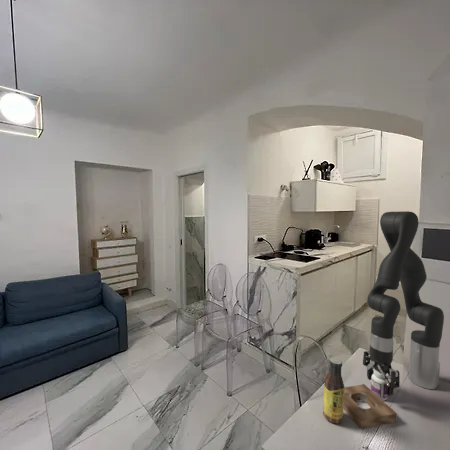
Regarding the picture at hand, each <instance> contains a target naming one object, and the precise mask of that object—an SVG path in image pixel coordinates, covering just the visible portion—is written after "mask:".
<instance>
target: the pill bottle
mask: <svg viewBox="0 0 450 450" xmlns="http://www.w3.org/2000/svg"><path fill="white" fill-rule="evenodd" d="M373 370H374V374H372V377H371V380H370V381H371V383H370V390H371V391H373V392H374V393H375V394H376V395H377V396H378V397H379V398H380V399H381V400H383V401H384V402H385V401H387V399H388V395H387V394H386V385H387V384H386V381H385V379H383V377H382V375H381V374H380V373H379V372H378V371H377V370H375V368H374V369H373ZM385 375H386V376H387V374H385Z"/></svg>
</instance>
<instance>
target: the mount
mask: <svg viewBox="0 0 450 450" xmlns="http://www.w3.org/2000/svg"><path fill="white" fill-rule="evenodd" d="M359 401H360V402H363V403H366V404H367V405H368V406H369V407H370V408H364V407H362V406H360V405H358V403H357V402H359ZM343 411H345V413H346V414H347V415H348V416H349V417H350V418H351V419H352V421H353V422H354V423H355V424H356V425H357V426H358V427H359V428H360V430H365V429H369V428H373V427H378V426H382V425H388V424H392V423H397V419H398V418H397V416H398V415H397V414H398V413H397V411H395V410H394V409H393V408H392V407H391V406H389V404H387V403H386V401H385V400H384V401H383V400H381V399H380V398H379V397H378V396H377V395H376V394H375V393H374V392H373V391H371V388H369V387H368V386H367V385H366V384H365V383H362V384H356V385H350V386H344V403H343Z"/></svg>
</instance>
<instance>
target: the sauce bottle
mask: <svg viewBox="0 0 450 450" xmlns="http://www.w3.org/2000/svg"><path fill="white" fill-rule="evenodd" d="M328 360H329V361H328V363H329V370H328V372H327V373H326V375H325V376H324V385H323V401H322V402H323V404H322V414H323V416H324V418H325V419H326V420H327V421H328V422H330V423H333V424H340V423H341V422H342V419H343V417H344V409H343V403H344V387H345V384H344V381H343V377H342V367H343V361H342V360H341V359H340V358H338V357H333V356H331V357H330V358H329V359H328Z"/></svg>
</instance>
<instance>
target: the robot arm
mask: <svg viewBox="0 0 450 450" xmlns="http://www.w3.org/2000/svg"><path fill="white" fill-rule="evenodd" d="M379 220H380V221H379V224H380V225H379V226H380V228H381V232H382V234H383V237H384V239H385V241H386V244H387V245H388V248H389V251H390V252H389V253H388V254H387V255H386V256H385V257H384V258H383V259H382V261H381V263H380V265H379V269H378V274H377V277H376V281H375V283H374V284H373V286H372V288H371V289H370V291H369V294H368V295H367V299H366V301H367V305H368V307H369V308H370V309H371V310H373V311H376V312H379V313H381V314H383V316H373V317H372V319H371V326H370V337H369V350H365V351H363V358H362V365H363V367H364V366H365V368H366V370H367V371H366V378H367V379H368V380H369V381H371V377H372V374H374V369H375V370H377V371H378V372H379V373H380V374H381V375H382V377H383V379H385V381H386V384H387V385H386V394H387V397H389V396H393V395H394V392H395V391H394V389H399V388H400V384H401V381H400V377H401V375H400V371H399V370H397V369H396V370H395V369H394V368H393V367H392V362H393V359H394V327H395V323H396V320H397V318H398V315H399V314H400V312H401V303H400V302H399V300H398V298H396V297H394V296H391V295H388V294H385V292H387V290H393V291H396V290H398V288H399V286H401V289H402V293H403V299H404V304H405V310H406V313H407V317H408V319H410V321H412V322H414V323H416V324H418V325H421V326H423V327H424V330H420V329H418V330H417V329H415V330H412V331H411V333H410V344H409V345H410V349H409V365H408V366H409V368H408V378H409V380H410V381H411V382H412V383H414V384H416V386H419V387H421V388H424V389H428V390H436V389H437V388H438V386H439V385H440V371H441V369H440V368H441V362H440V345H441V344H440V343H441V340H442V337H443V328H444V322H445V321H444V320H445V314H444V311H443V310H442V308H440V307H439V306H435V305H432V304H429V303H426V302H424V301H422V299H421V298H420V290H421V289H422V288H423V286H424V285H425V284H426V282H427V281H426V280H427V272H426V268H425V265H424V262H423V260H422V259H421V257H420V256H419V254H417V253H416V252H415V251H414V250H413V249H412V248H411V247H412V245H413V242H414V239H415V237H416V234H417V232H418V228H419V223H420V222H419V217H418V215H417V214H416V213H415V212H414V211H410V210H409V211H408V210H407V211H404V210H402V211H386V212H384V213H383V214H381V215H380V219H379ZM385 374H386V375H385Z"/></svg>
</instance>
